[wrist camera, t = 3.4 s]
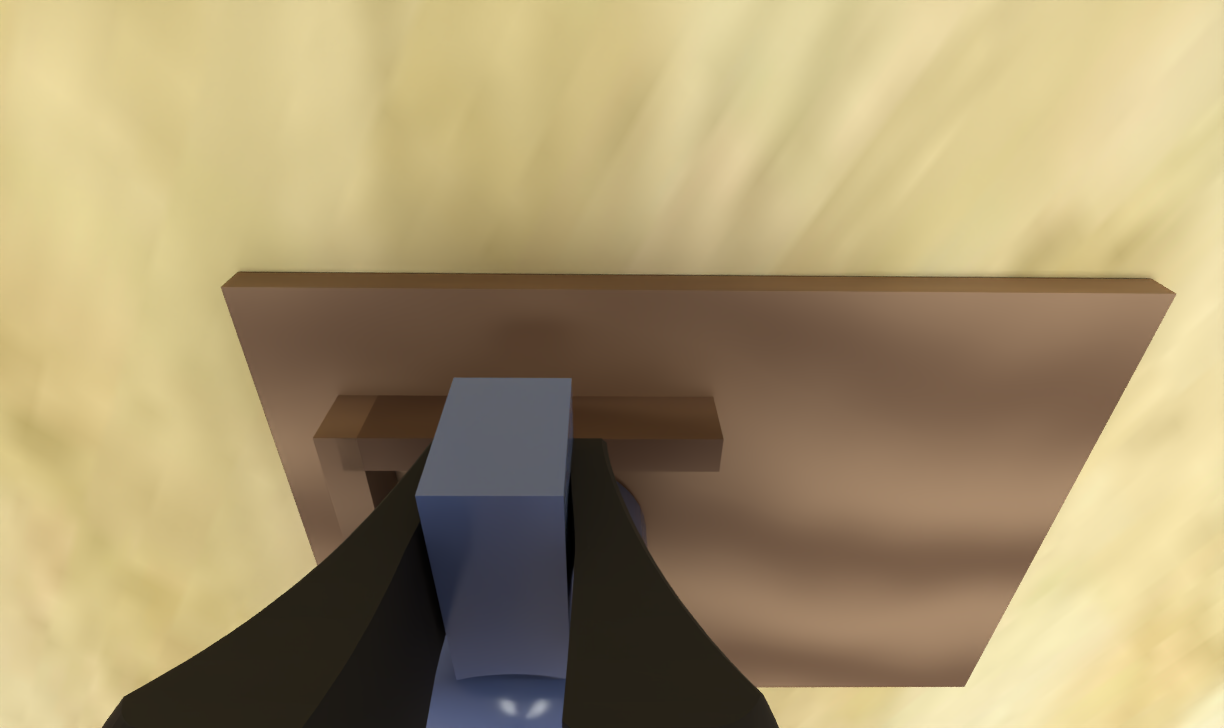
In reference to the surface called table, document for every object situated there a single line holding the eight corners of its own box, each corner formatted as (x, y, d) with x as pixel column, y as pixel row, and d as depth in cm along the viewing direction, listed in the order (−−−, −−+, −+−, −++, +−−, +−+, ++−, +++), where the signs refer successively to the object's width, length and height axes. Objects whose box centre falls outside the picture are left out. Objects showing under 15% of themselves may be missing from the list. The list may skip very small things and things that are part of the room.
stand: (954, 666, 24) (987, 733, 22) (367, 667, 24) (344, 736, 22) (1151, 279, 16) (1237, 330, 14) (237, 272, 15) (179, 323, 13)
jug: (640, 617, 21) (652, 828, 16) (458, 617, 21) (414, 829, 16) (661, 300, 15) (691, 496, 10) (393, 298, 14) (285, 495, 10)
